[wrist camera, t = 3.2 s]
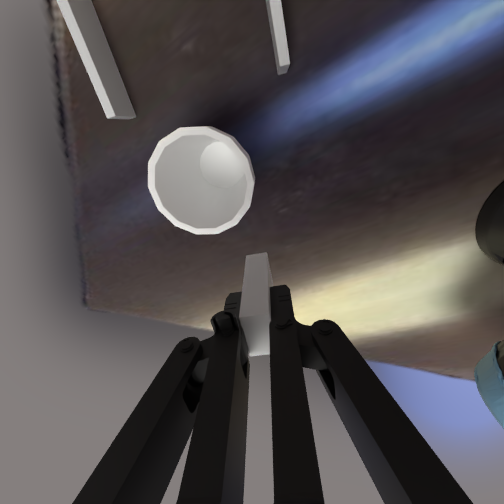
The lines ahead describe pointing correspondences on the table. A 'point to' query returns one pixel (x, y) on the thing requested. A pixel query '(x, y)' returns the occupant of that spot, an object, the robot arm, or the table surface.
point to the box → (103, 64)
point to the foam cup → (201, 179)
